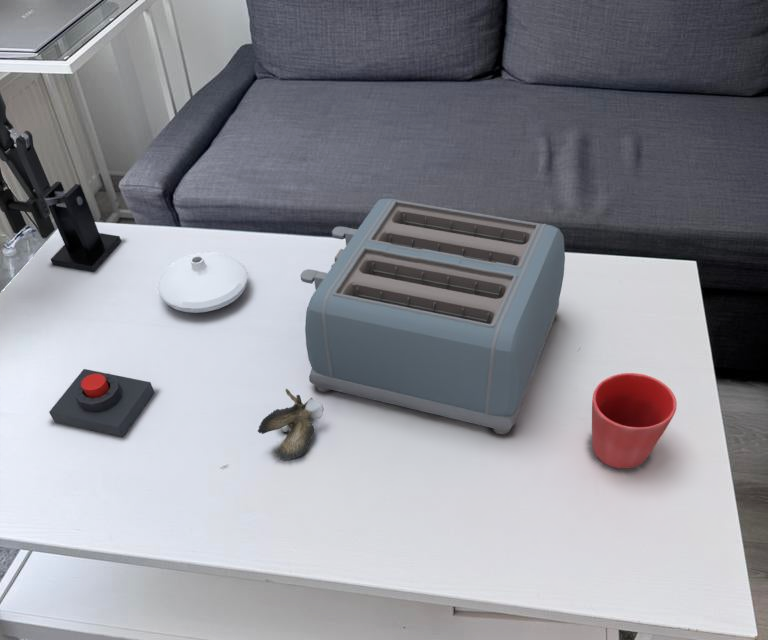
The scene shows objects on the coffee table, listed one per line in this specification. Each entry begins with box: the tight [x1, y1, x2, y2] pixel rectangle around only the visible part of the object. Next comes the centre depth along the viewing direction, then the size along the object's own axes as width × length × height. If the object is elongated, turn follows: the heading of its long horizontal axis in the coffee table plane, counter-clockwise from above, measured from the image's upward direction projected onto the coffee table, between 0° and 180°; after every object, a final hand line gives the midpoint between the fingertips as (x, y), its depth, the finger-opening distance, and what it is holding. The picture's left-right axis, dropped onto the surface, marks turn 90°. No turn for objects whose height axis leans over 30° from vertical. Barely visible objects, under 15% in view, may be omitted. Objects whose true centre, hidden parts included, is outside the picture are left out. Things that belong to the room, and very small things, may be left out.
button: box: [81, 374, 109, 398], centre depth 112 cm, size 4×4×2 cm
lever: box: [7, 189, 69, 213], centre depth 129 cm, size 13×5×2 cm, turn 163°
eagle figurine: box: [257, 388, 325, 461], centre depth 108 cm, size 8×7×9 cm
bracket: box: [44, 181, 122, 273], centre depth 137 cm, size 10×9×13 cm
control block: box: [48, 368, 155, 438], centre depth 114 cm, size 12×10×4 cm
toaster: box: [299, 197, 566, 435], centre depth 114 cm, size 31×36×17 cm
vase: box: [156, 251, 248, 314], centre depth 130 cm, size 16×16×7 cm
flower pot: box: [591, 372, 677, 469], centre depth 102 cm, size 11×11×10 cm
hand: (34, 230), depth 128 cm, fingers closed on lever, 5 cm apart
